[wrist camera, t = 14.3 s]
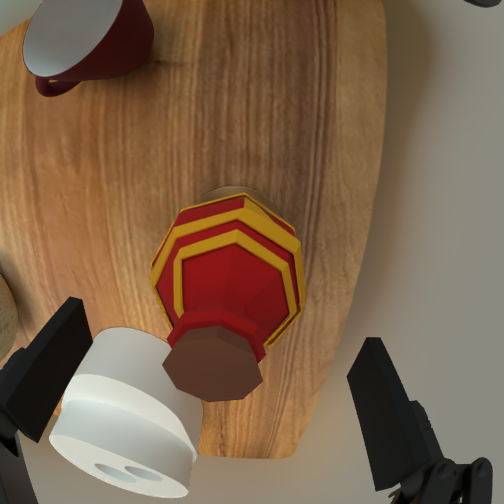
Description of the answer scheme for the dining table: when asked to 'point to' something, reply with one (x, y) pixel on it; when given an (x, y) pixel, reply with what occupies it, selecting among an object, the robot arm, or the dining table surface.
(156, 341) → the white stepped block
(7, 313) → the cantaloupe
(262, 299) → the potion bottle
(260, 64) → the dining table surface
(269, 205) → the coaster
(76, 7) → the mug
